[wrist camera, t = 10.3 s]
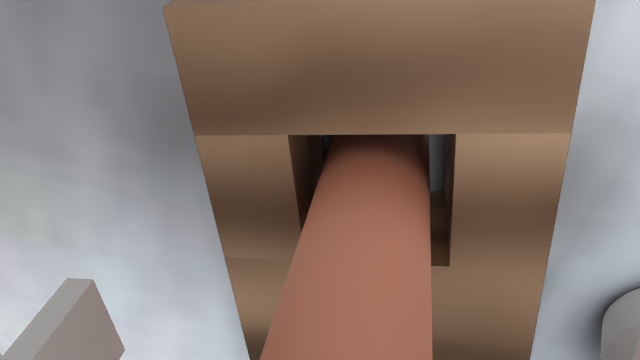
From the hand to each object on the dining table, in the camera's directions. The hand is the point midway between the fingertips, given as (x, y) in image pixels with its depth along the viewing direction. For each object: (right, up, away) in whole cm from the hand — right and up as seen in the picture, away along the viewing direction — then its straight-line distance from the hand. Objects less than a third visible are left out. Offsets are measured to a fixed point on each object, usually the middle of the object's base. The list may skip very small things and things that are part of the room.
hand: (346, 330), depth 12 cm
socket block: (+2, +4, +10) cm, 11 cm away
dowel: (+2, +6, +9) cm, 11 cm away
